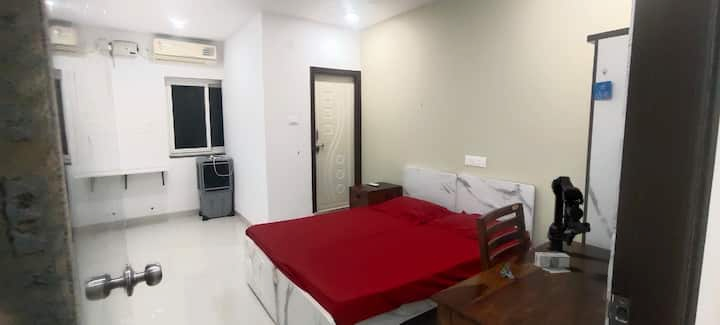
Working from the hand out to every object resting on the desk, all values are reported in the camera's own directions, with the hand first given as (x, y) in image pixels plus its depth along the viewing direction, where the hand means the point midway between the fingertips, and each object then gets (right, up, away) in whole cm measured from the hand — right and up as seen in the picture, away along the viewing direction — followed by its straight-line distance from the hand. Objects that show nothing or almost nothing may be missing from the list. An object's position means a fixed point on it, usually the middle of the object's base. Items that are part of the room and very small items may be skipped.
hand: (568, 245), depth 172 cm
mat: (-8, -11, +1) cm, 13 cm away
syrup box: (+1, -8, +2) cm, 8 cm away
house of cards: (-37, -13, -11) cm, 41 cm away
